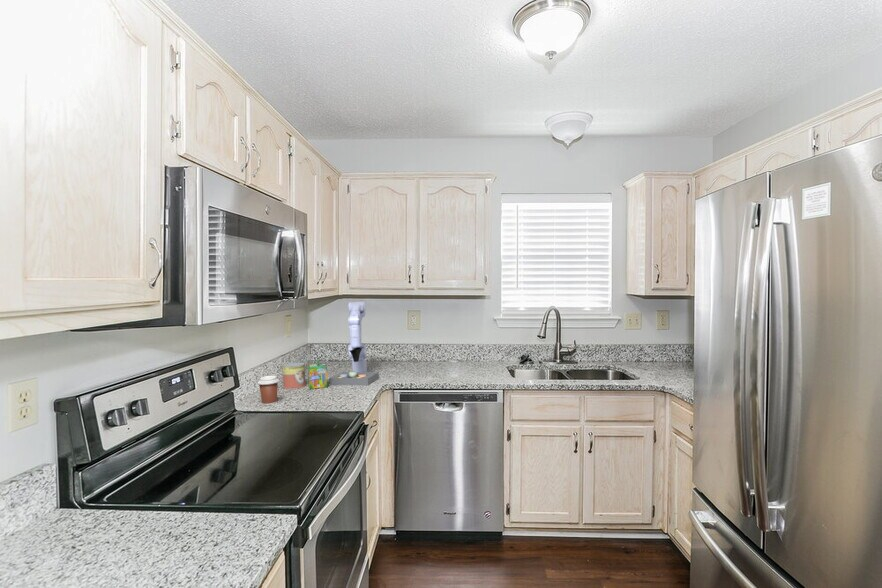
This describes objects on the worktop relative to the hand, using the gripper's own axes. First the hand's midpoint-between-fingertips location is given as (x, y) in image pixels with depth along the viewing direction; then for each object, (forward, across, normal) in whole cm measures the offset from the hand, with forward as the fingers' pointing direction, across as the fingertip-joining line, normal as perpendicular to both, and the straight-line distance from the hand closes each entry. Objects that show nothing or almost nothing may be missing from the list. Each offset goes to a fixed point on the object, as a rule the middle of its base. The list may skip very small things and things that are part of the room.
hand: (356, 361), depth 242 cm
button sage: (+8, +5, 0) cm, 9 cm away
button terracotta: (+9, +5, +5) cm, 12 cm away
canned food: (+11, +17, -28) cm, 34 cm away
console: (+10, +3, 0) cm, 11 cm away
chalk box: (+11, +16, -15) cm, 24 cm away
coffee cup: (+11, +48, -22) cm, 54 cm away
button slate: (+9, +5, -6) cm, 12 cm away
